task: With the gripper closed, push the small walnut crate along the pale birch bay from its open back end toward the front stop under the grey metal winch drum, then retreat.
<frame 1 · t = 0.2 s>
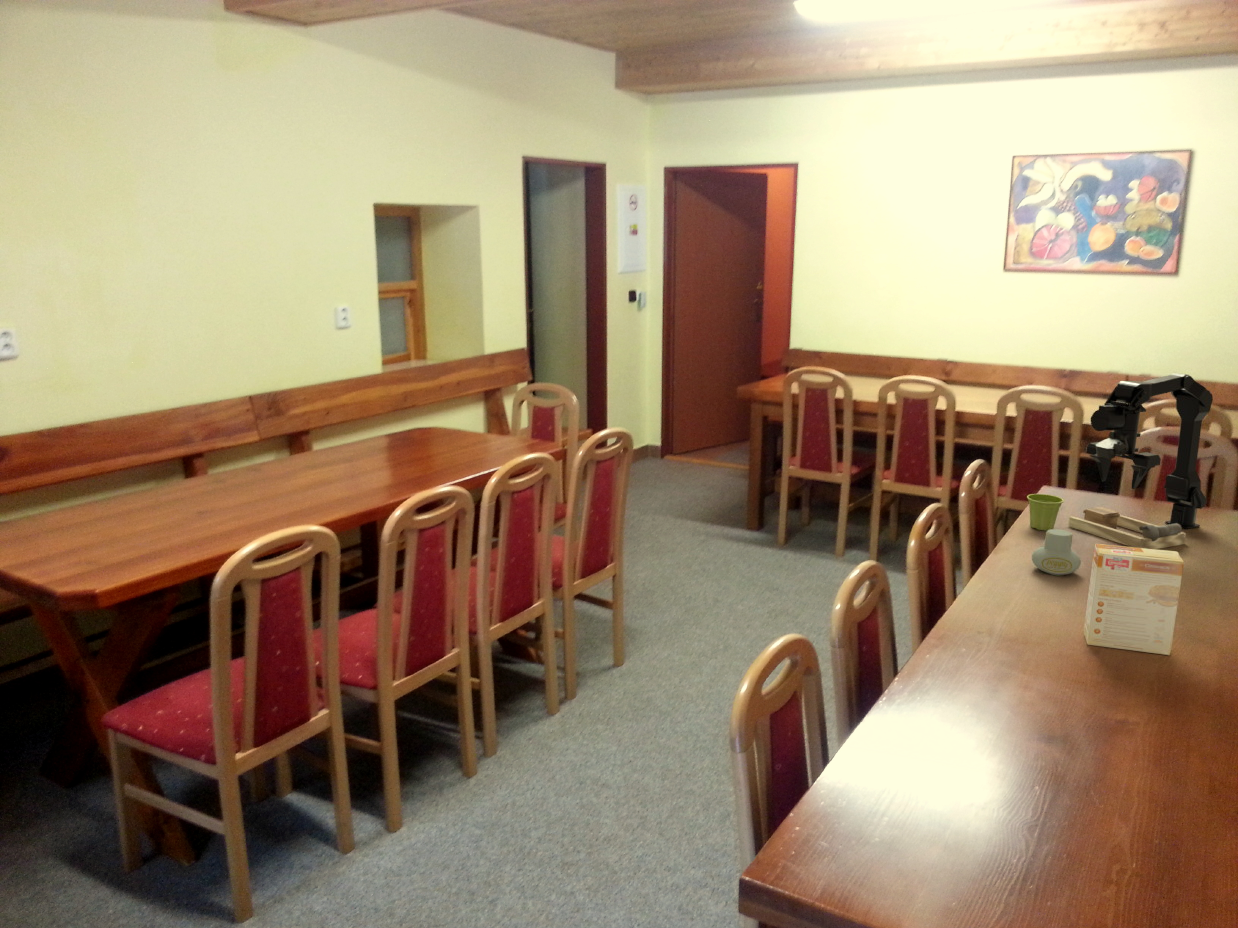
hand: (1118, 484, 260), 14 cm above the table, fingers open, 9 cm apart
bay: (1124, 534, 264), on the table
coffeecake box: (1125, 644, 192), on the table
plant pot: (1041, 528, 270), on the table
crate: (1099, 527, 271), on the table
air freshener: (1054, 572, 234), on the table
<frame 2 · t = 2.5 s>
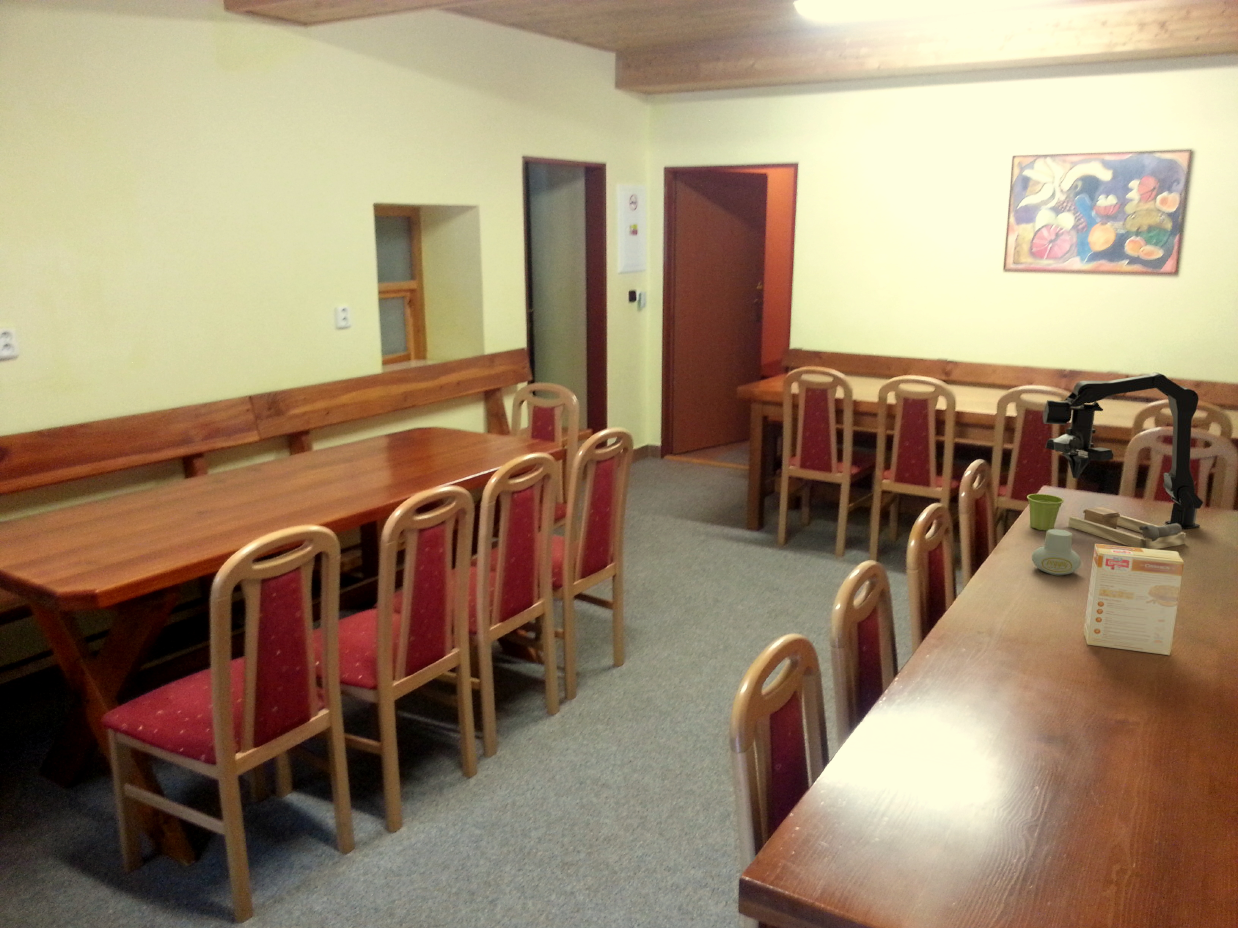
hand: (1075, 478, 277), 12 cm above the table, fingers closed
nothing on the table moved.
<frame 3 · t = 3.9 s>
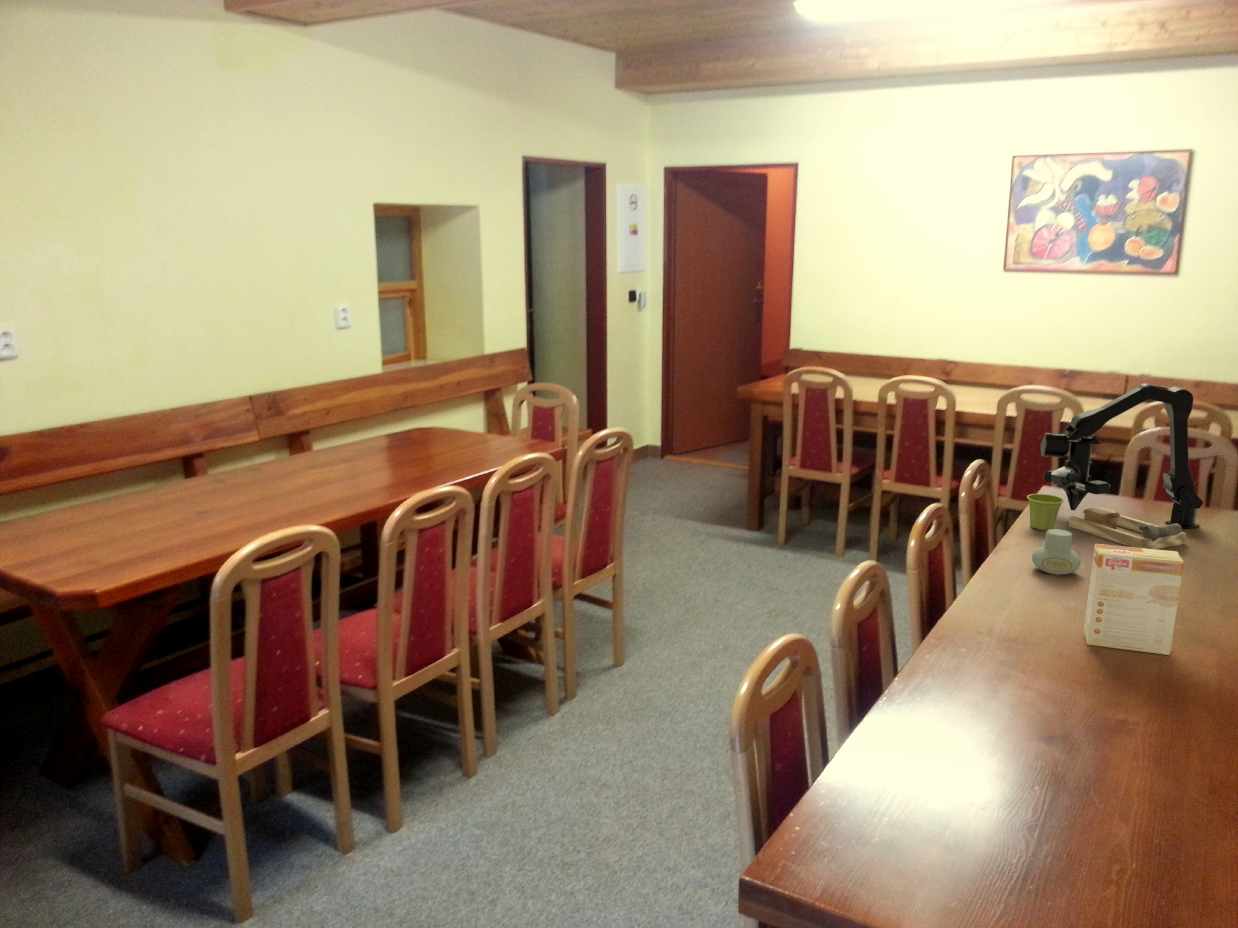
hand: (1072, 510, 279), 2 cm above the table, fingers closed
nothing on the table moved.
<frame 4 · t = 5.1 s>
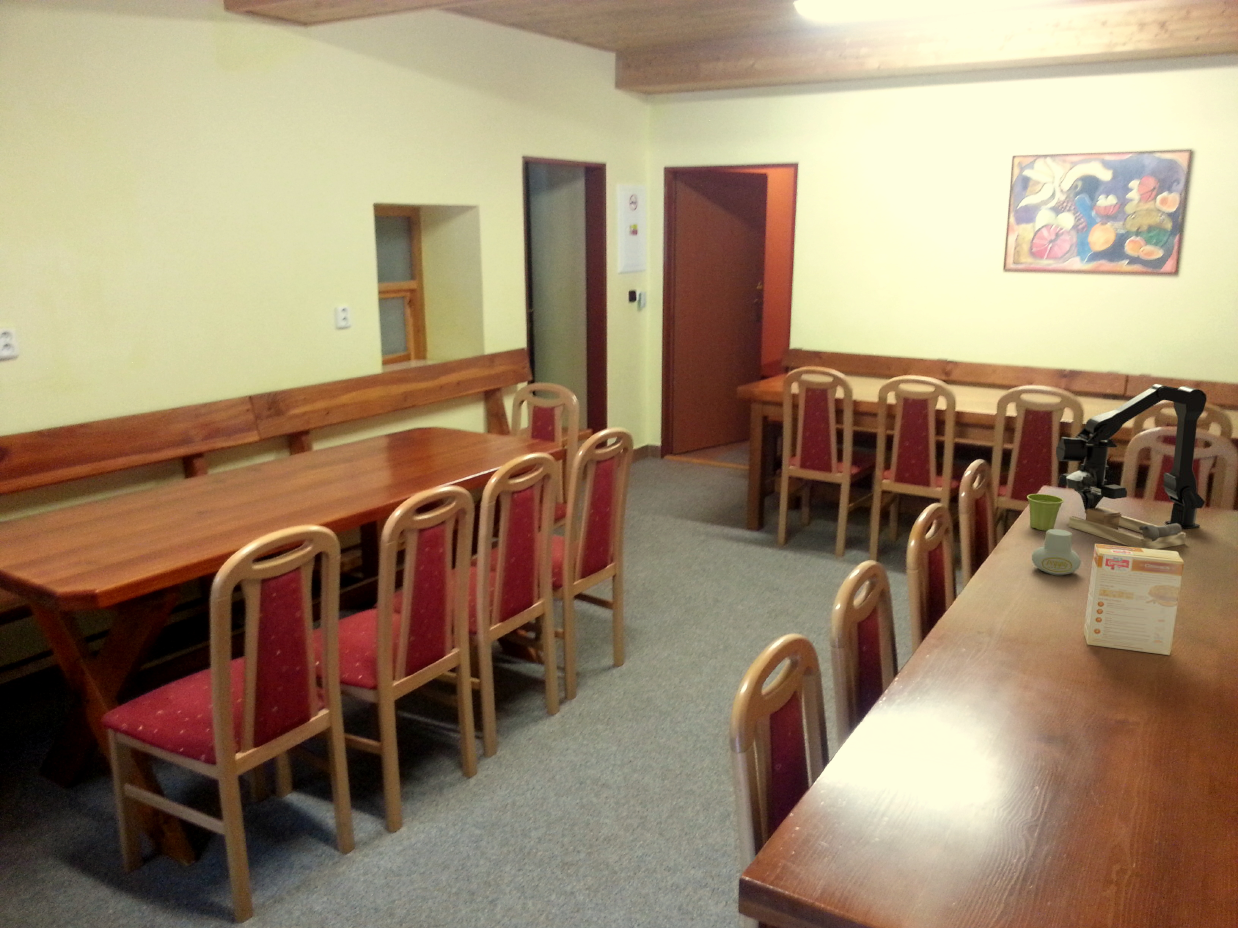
hand: (1088, 514, 275), 2 cm above the table, fingers closed
crate: (1101, 527, 271), on the table, touching gripper
everything else where it was.
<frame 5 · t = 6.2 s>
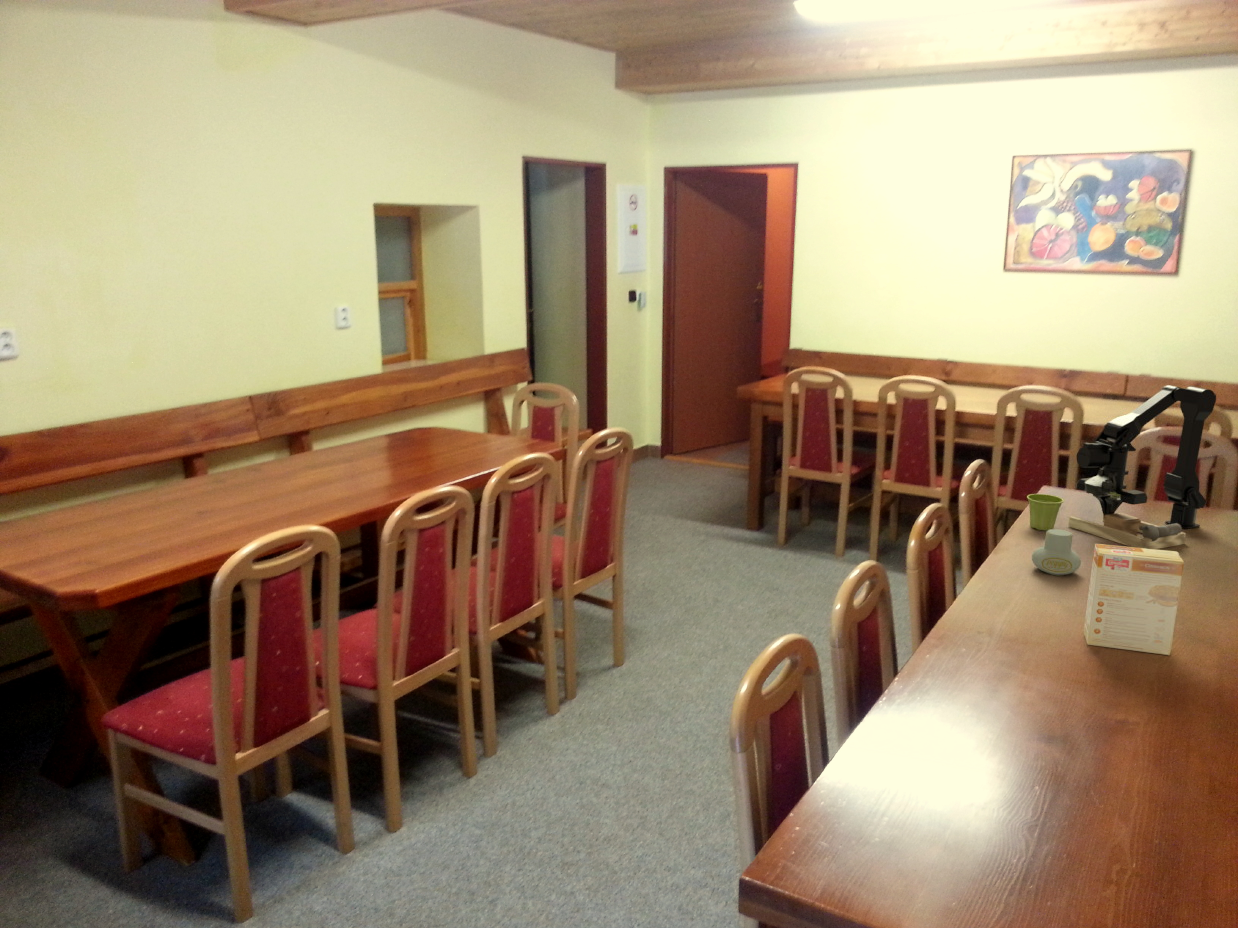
hand: (1106, 520, 269), 3 cm above the table, fingers closed
crate: (1119, 533, 265), on the table, touching gripper
everything else where it was.
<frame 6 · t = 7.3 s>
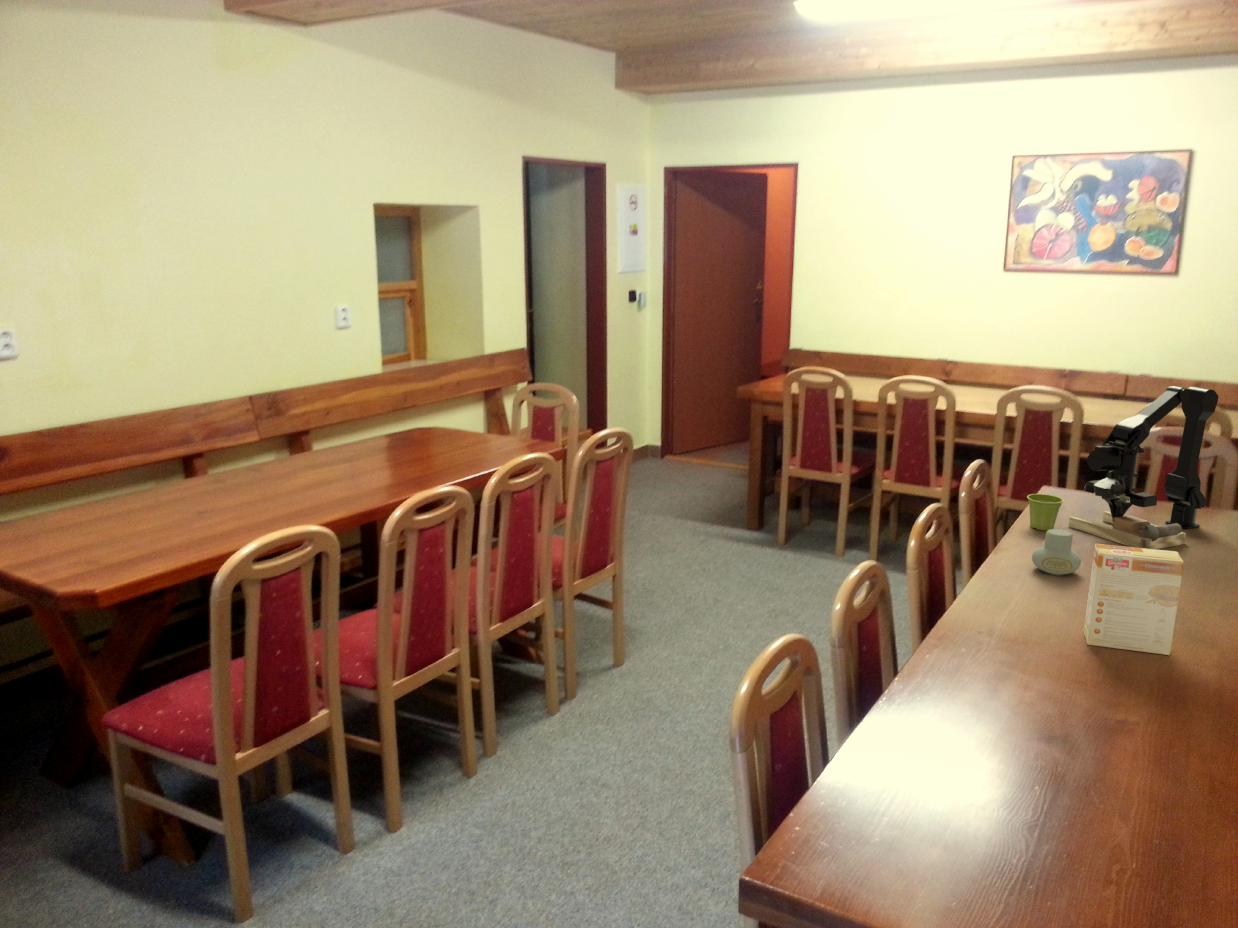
hand: (1115, 523, 266), 3 cm above the table, fingers closed
crate: (1129, 536, 263), on the table, touching gripper
everything else where it was.
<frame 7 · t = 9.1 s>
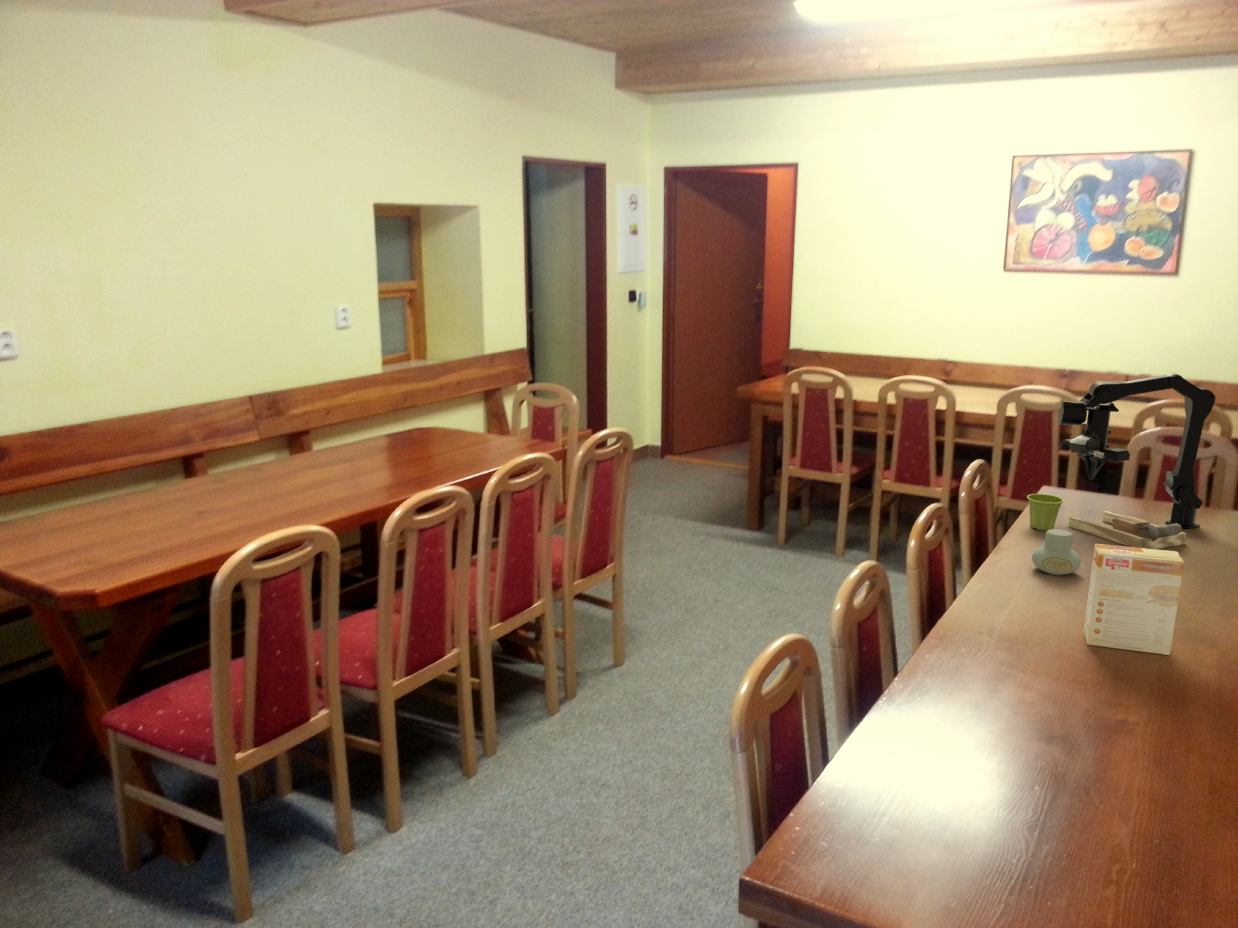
hand: (1090, 478, 277), 12 cm above the table, fingers closed
crate: (1129, 537, 263), on the table
everything else where it was.
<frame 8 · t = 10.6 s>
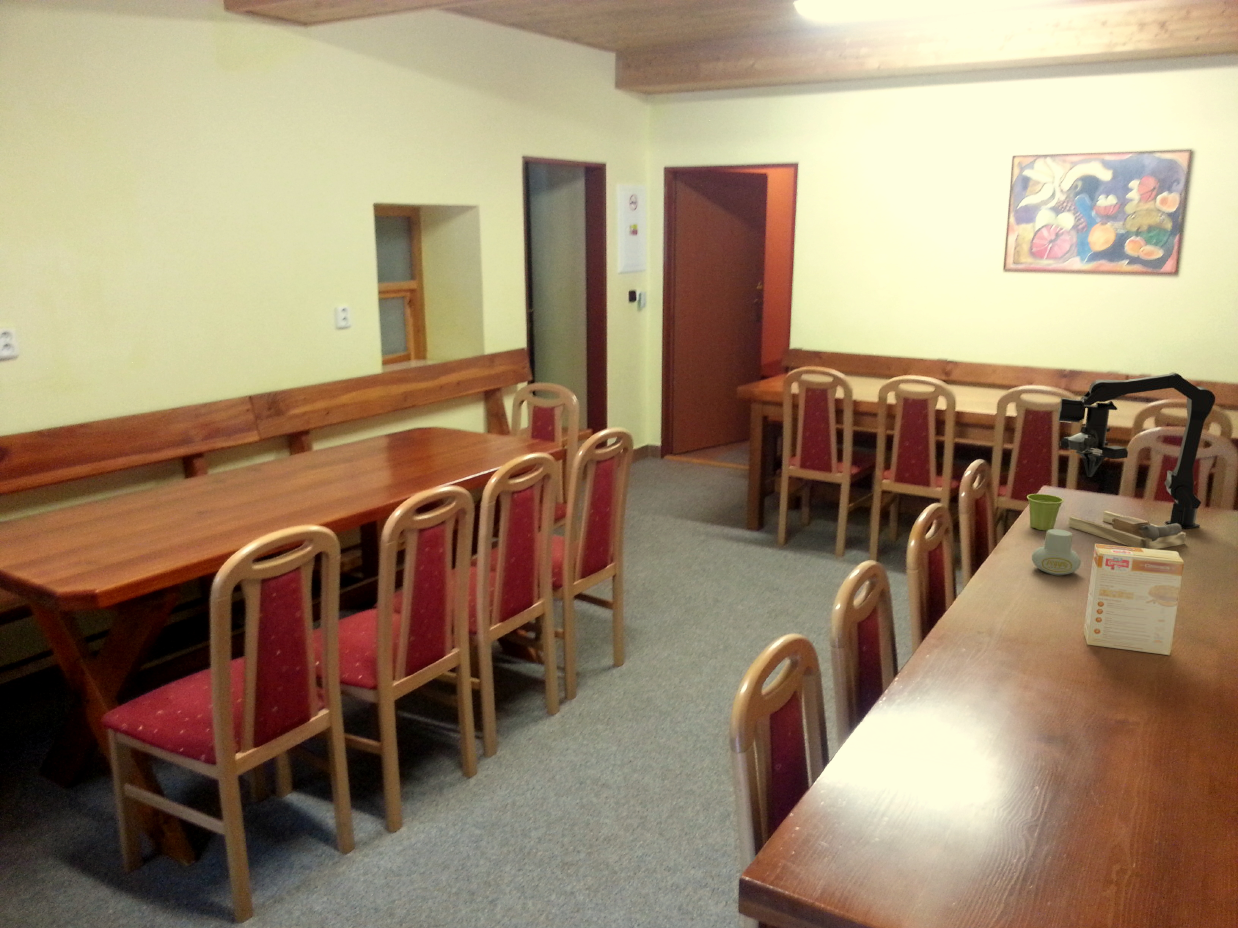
hand: (1089, 476, 280), 12 cm above the table, fingers closed
nothing on the table moved.
at the end: crate inside the target area (2.3 cm from its centre), on the table; crate tilted 0° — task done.
